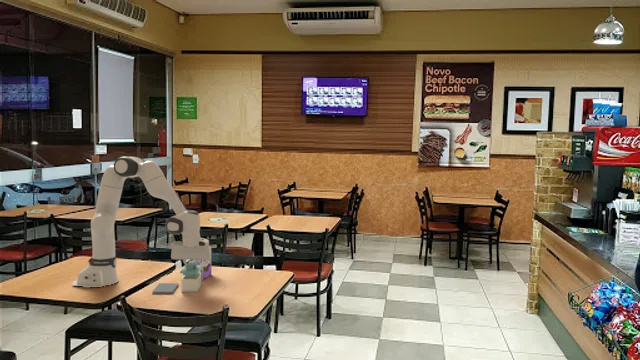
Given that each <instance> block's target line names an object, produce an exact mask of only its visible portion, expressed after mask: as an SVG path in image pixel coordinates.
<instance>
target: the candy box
mask: <svg viewBox="0 0 640 360" xmlns="http://www.w3.org/2000/svg"><path fill="white" fill-rule="evenodd" d="M210 248H211V249H212V246H210ZM191 261H195V264H196V263H197V261H196V259H191ZM197 265H202V267H201V269H200V270H199V272H198V273H201V282H202V281H204V280H205V279H206V278H208V277H210V276H211V275H212V257H211V258H210V259H209V260H199V262H198V264H197Z"/></svg>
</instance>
